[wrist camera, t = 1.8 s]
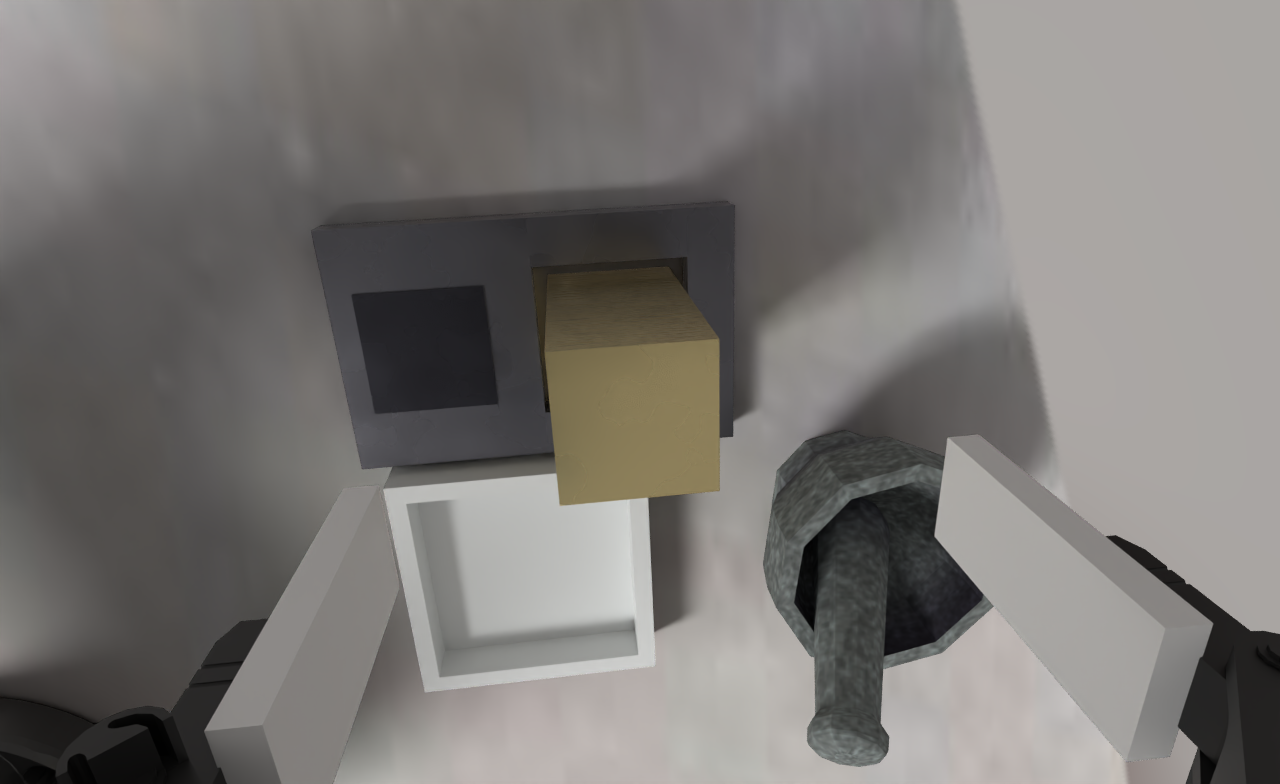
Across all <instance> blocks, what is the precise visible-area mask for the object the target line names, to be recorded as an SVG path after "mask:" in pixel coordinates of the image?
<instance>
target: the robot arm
mask: <svg viewBox="0 0 1280 784" xmlns="http://www.w3.org/2000/svg"><path fill="white" fill-rule="evenodd" d="M934 536H935V538H936V539H937V540H938V541H939V542H940V543H941V545H942V546H943V547H944V548H945V549H946V551H947V552H948V553H949V554H950V555H951V556H952V558H953V559H954V560H955V561H956V562H957V563H958V565H959V566H960V567H961V568H962V569H963V571H964V572H965V573H966V574H967V575H968V576H969V578H970V579H971V580H972V581H973V582H974V584H975V585H976V586H977V587H978V588H979V589H980V591H981V592H982V593H983V594H984V595H985V596H986V598H987V599H988V600H989V601H990V602H991V604H992V605H993V606H994V607H995V608H996V609H997V611H998V612H999V613H1000V614H1001V615H1002V616H1003V618H1004V619H1005V620H1006V621H1007V622H1008V624H1009V625H1010V626H1011V627H1012V628H1013V629H1014V631H1015V632H1016V633H1017V634H1018V635H1019V637H1020V638H1021V639H1022V640H1023V641H1024V642H1025V644H1026V645H1027V646H1028V647H1029V648H1030V649H1031V651H1032V652H1033V653H1034V654H1035V655H1036V657H1037V658H1038V659H1039V660H1040V661H1041V662H1042V664H1043V665H1044V666H1045V667H1046V668H1047V670H1048V671H1049V672H1050V673H1051V674H1052V675H1053V677H1054V678H1055V679H1056V680H1057V681H1058V682H1059V684H1060V685H1061V686H1062V687H1063V688H1064V690H1065V691H1066V692H1067V693H1068V694H1069V695H1070V697H1071V698H1072V699H1073V700H1074V701H1075V702H1076V704H1077V705H1078V706H1079V707H1080V708H1081V710H1082V711H1083V712H1084V713H1085V714H1086V715H1087V717H1088V718H1089V719H1090V720H1091V721H1092V723H1093V724H1094V725H1095V726H1096V727H1097V728H1098V730H1099V731H1100V732H1101V733H1102V734H1103V735H1104V737H1105V738H1106V739H1107V740H1108V741H1109V743H1110V744H1111V745H1112V746H1113V747H1114V748H1115V750H1116V751H1117V752H1118V753H1119V754H1120V756H1121V757H1122V758H1123V759H1124V760H1125V761H1126V762H1132V761H1140V760H1148V759H1157V758H1165V757H1170V755H1171V752H1172V749H1173V746H1174V743H1175V740H1176V737H1177V734H1178V730H1179V728H1180V729H1181V731H1182V732H1184V734H1185V735H1187V737H1188V738H1189V739H1190V740H1191V741H1192V742H1193V743H1194V744H1195V745H1196V746H1197V747H1198V749H1197V752H1196V755H1195V758H1194V761H1193V764H1192V767H1191V770H1190V772H1189V776H1188V779H1187V781H1186V784H1280V634H1276V633H1271V632H1266V631H1250V630H1249V629H1247V628H1246V627H1245V626H1243V625H1242V624H1241V623H1239V622H1238V621H1237V620H1236V619H1234V618H1233V617H1232V616H1230V615H1229V614H1228V613H1227V612H1225V611H1224V610H1223V609H1221V608H1220V607H1219V606H1217V605H1216V604H1215V603H1213V602H1212V601H1211V600H1210V599H1208V598H1207V597H1206V596H1205V595H1203V594H1202V593H1201V592H1199V591H1198V590H1197V589H1195V588H1194V587H1193V586H1192V585H1190V584H1186V583H1185V580H1184V579H1183V578H1181V577H1180V576H1179V575H1177V574H1176V573H1175V572H1173V571H1172V570H1168V569H1167V566H1166V565H1164V564H1163V563H1162V562H1161V561H1159V560H1158V559H1157V558H1155V557H1154V556H1153V555H1151V554H1150V553H1149V552H1148V551H1146V550H1145V549H1143V548H1141V547H1139V546H1137V545H1135V544H1132V543H1131V542H1128V541H1126V540H1124V539H1122V538H1120V537H1118V536H1116V535H1115V536H1104V535H1103V534H1102V533H1101V532H1099V531H1098V530H1097V529H1096V528H1094V527H1093V526H1092V525H1091V524H1089V523H1088V522H1087V521H1086V520H1084V519H1083V518H1082V517H1081V516H1079V515H1078V514H1077V513H1076V512H1074V511H1073V510H1072V509H1071V508H1070V507H1068V506H1067V505H1066V504H1065V503H1063V502H1062V501H1061V500H1060V499H1058V498H1057V497H1056V496H1055V495H1053V494H1052V493H1051V492H1050V491H1048V490H1047V489H1046V488H1045V487H1043V486H1042V485H1041V484H1040V483H1038V482H1037V481H1036V480H1035V479H1034V478H1032V477H1031V476H1030V475H1029V474H1027V473H1026V472H1025V471H1024V470H1022V469H1021V468H1020V467H1019V466H1017V465H1016V464H1015V463H1014V462H1012V461H1011V460H1010V459H1009V458H1007V457H1006V456H1005V455H1004V454H1002V453H1001V452H1000V451H999V450H997V449H996V448H995V447H994V446H993V445H991V444H990V443H989V442H988V441H986V440H985V439H984V438H983V437H981V436H980V435H967V436H955V437H948V438H947V446H946V453H945V461H944V468H943V476H942V483H941V491H940V498H939V506H938V513H937V520H936V528H935V535H934ZM399 588H400V584H399V579H398V575H397V570H396V565H395V560H394V555H393V551H392V546H391V541H390V536H389V531H388V526H387V522H386V517H385V512H384V507H383V502H382V498H381V493H380V488H379V485H371V486H360V487H348V488H343V490H342V491H341V493H340V495H339V497H338V498H337V500H336V502H335V504H334V505H333V507H332V509H331V511H330V512H329V514H328V516H327V518H326V519H325V521H324V523H323V525H322V526H321V528H320V530H319V532H318V533H317V535H316V537H315V539H314V540H313V542H312V544H311V546H310V547H309V549H308V551H307V553H306V554H305V556H304V558H303V559H302V561H301V563H300V565H299V566H298V568H297V570H296V572H295V573H294V575H293V577H292V579H291V580H290V582H289V584H288V586H287V587H286V589H285V591H284V593H283V594H282V596H281V598H280V600H279V601H278V603H277V605H276V607H275V608H274V610H273V612H272V614H271V615H270V617H269V619H260V620H249V621H240V622H239V623H238V624H237V625H236V626H235V627H233V628H232V629H231V630H230V631H229V632H228V633H226V634H225V635H224V636H223V637H222V638H221V639H219V640H218V641H217V642H216V643H215V645H214V646H213V648H212V649H211V651H210V653H209V654H208V656H207V657H206V659H205V660H204V662H203V663H202V665H201V666H202V667H201V669H200V670H198V671H197V673H196V674H195V676H194V677H193V679H192V680H191V682H190V684H189V689H186V690H185V691H184V693H183V694H182V696H181V698H180V699H179V701H178V702H177V704H176V705H175V707H174V708H173V710H172V711H171V713H169V712H168V711H166V710H165V709H164V708H159V707H152V706H145V707H139V708H133V709H128V710H125V711H123V712H120V713H118V714H115V715H113V716H110V717H108V718H105V719H104V720H102V721H100V722H99V723H97V724H95V725H94V724H92V723H90V722H88V721H86V720H84V719H82V718H79V717H77V716H74V715H72V714H69V713H66V712H63V711H60V710H57V709H54V708H51V707H47V706H44V705H40V704H35V703H31V702H26V701H20V700H14V699H6V698H0V784H333V782H334V779H335V776H336V773H337V771H338V768H339V765H340V762H341V759H342V756H343V753H344V750H345V747H346V744H347V741H348V738H349V735H350V732H351V729H352V726H353V723H354V721H355V718H356V715H357V712H358V709H359V706H360V703H361V700H362V697H363V694H364V691H365V688H366V685H367V682H368V679H369V676H370V673H371V671H372V668H373V665H374V662H375V659H376V656H377V653H378V650H379V647H380V644H381V641H382V638H383V635H384V632H385V629H386V626H387V623H388V621H389V618H390V615H391V612H392V609H393V606H394V603H395V600H396V597H397V594H398V591H399Z"/></svg>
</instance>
